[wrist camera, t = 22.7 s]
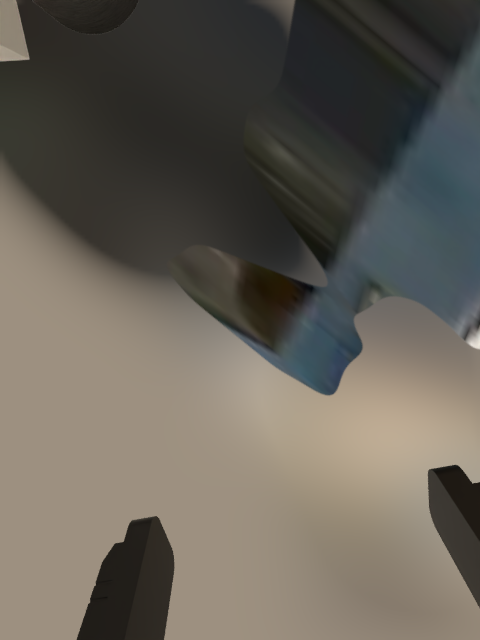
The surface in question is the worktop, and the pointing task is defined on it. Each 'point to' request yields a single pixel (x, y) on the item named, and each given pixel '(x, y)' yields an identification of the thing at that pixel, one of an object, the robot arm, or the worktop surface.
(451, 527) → the robot arm
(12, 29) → the bar
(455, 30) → the worktop surface
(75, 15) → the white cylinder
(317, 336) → the worktop surface
